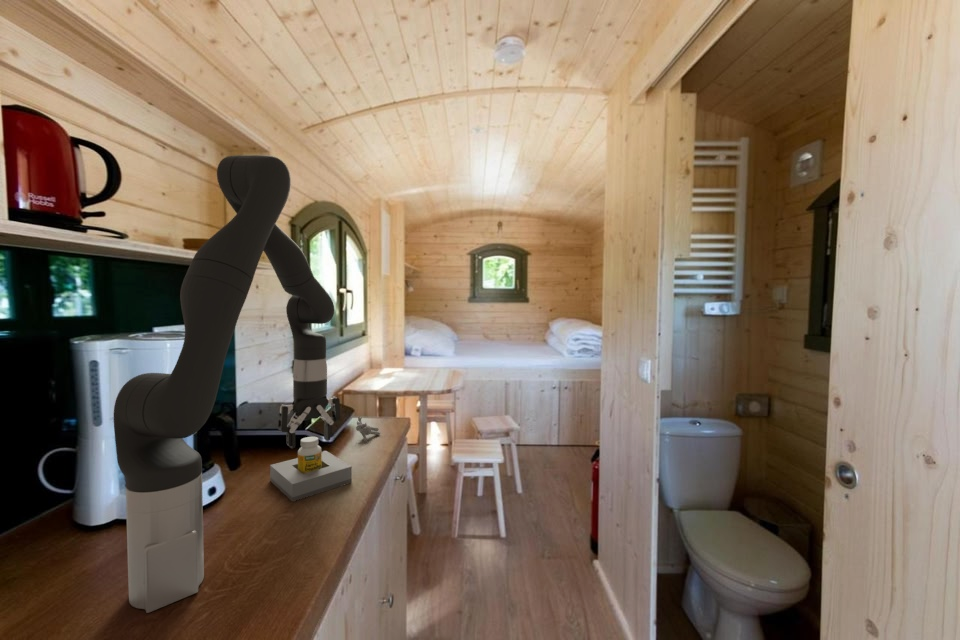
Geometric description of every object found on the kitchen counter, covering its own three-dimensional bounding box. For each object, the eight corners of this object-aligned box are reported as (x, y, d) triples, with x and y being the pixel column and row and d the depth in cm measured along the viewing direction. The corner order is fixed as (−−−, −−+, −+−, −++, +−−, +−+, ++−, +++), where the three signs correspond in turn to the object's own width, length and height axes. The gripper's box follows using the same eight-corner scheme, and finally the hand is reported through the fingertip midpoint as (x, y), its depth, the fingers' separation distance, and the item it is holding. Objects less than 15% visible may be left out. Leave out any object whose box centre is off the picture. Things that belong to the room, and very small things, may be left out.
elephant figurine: (388, 439, 131) (366, 436, 125) (376, 450, 133) (353, 447, 126) (379, 414, 137) (358, 409, 131) (368, 424, 139) (346, 421, 132)
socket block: (351, 482, 100) (351, 466, 100) (292, 501, 90) (292, 484, 90) (325, 465, 110) (325, 450, 110) (270, 481, 100) (270, 465, 100)
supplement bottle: (315, 471, 104) (315, 434, 103) (325, 478, 100) (325, 439, 100) (294, 477, 100) (294, 438, 99) (303, 484, 96) (303, 444, 96)
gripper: (285, 383, 91) (285, 455, 92) (345, 375, 101) (345, 440, 102) (273, 378, 96) (273, 446, 97) (331, 371, 106) (331, 433, 107)
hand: (310, 443), depth 99 cm, fingers open, 8 cm apart
